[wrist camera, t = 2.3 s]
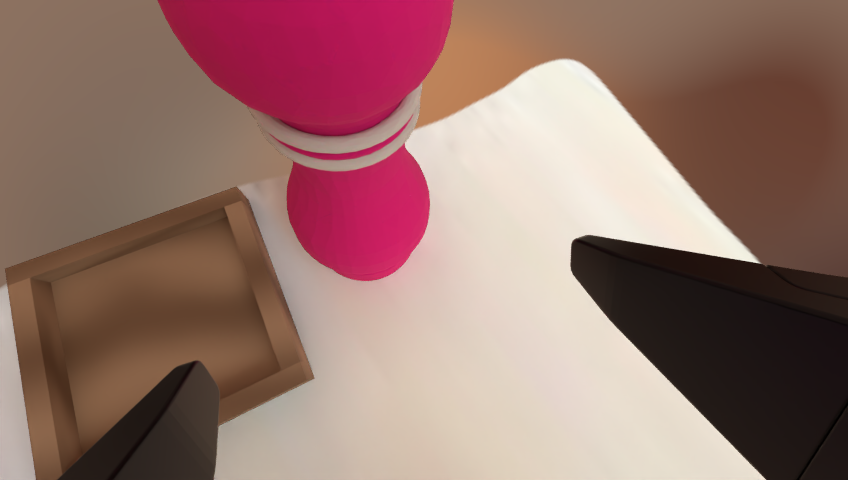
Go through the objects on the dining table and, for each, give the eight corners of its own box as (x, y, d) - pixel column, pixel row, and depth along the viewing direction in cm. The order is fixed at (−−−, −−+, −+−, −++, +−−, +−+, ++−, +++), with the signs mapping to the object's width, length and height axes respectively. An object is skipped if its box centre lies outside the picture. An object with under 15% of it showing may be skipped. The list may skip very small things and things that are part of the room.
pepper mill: (285, 234, 22) (-382, -533, 3) (368, 164, 24) (277, -548, 5) (365, 314, 21) (93, -124, 2) (445, 233, 23) (694, -358, 4)
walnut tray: (314, 378, 19) (306, 380, 18) (76, 496, 17) (41, 511, 15) (248, 199, 22) (236, 186, 21) (38, 276, 20) (4, 268, 18)
